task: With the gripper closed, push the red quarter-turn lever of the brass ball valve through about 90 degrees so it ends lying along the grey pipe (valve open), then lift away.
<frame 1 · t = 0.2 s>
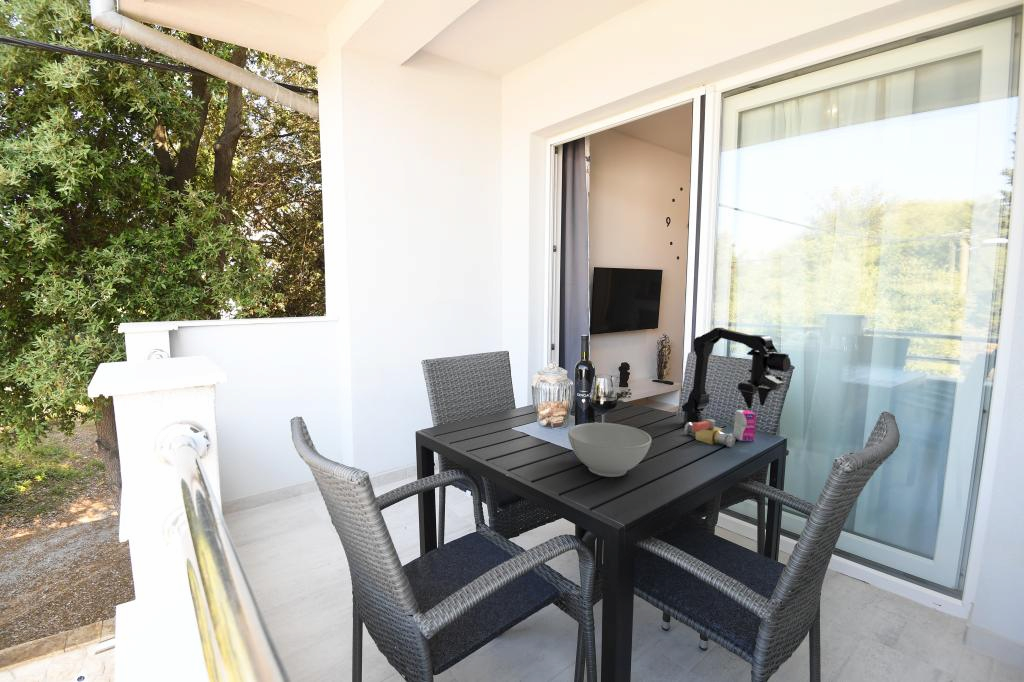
hand: (755, 406, 192), 14 cm above the table, fingers open, 9 cm apart
lever: (703, 425, 191), point 7 cm above the table, hinge at 0.0°
supplement box: (743, 439, 197), on the table
decorative bowl: (607, 470, 161), on the table
valve body: (708, 440, 194), on the table
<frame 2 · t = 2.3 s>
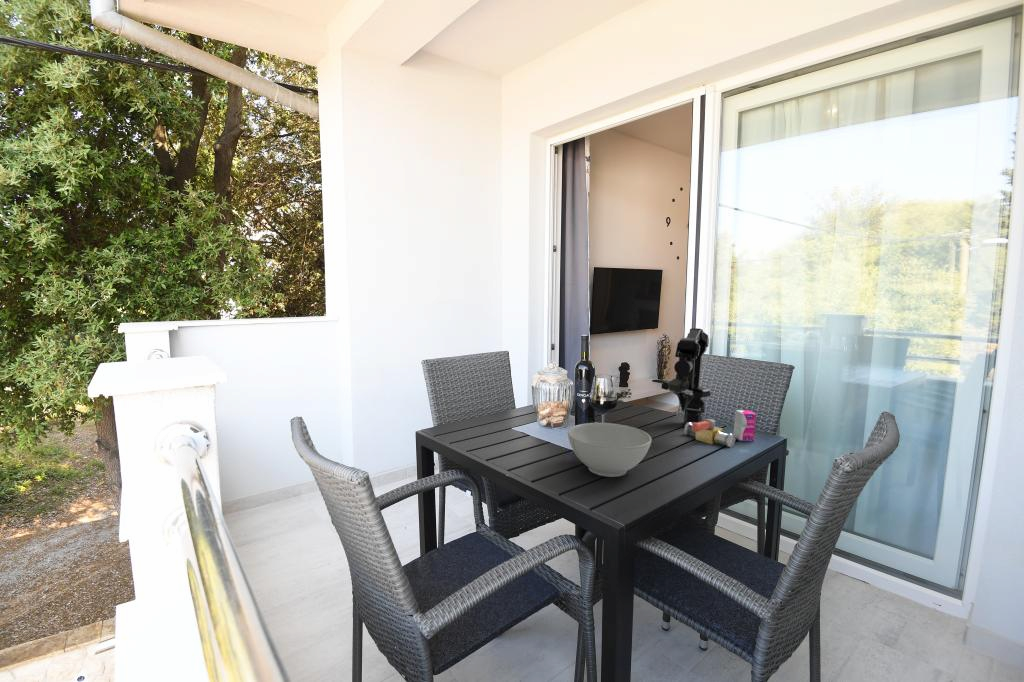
hand: (683, 410, 193), 12 cm above the table, fingers closed
nothing on the table moved.
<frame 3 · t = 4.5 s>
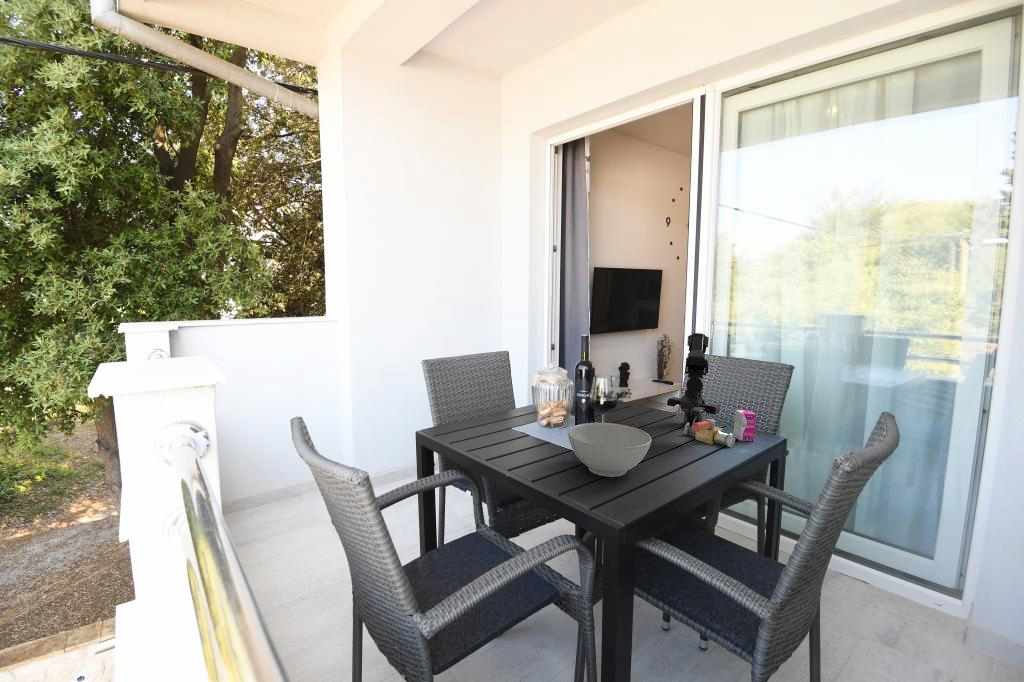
hand: (691, 426, 191), 6 cm above the table, fingers closed
lever: (703, 425, 191), point 7 cm above the table, hinge at 1.8°, touching gripper
everything else where it was.
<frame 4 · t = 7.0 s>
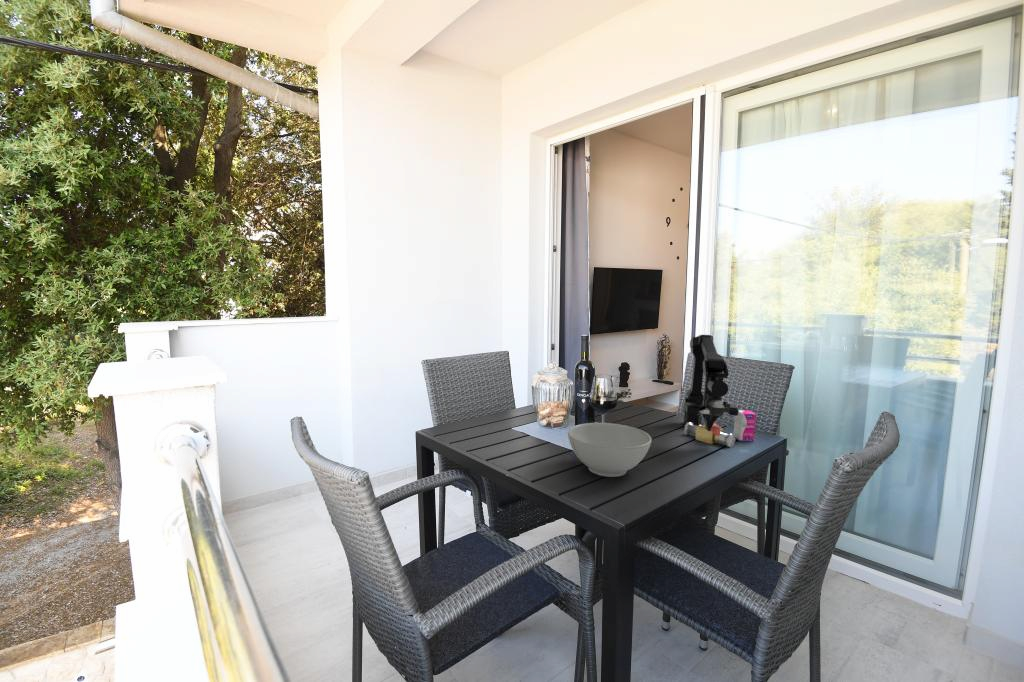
hand: (708, 430, 186), 6 cm above the table, fingers closed
lever: (713, 426, 189), point 7 cm above the table, hinge at 47.1°, touching gripper
everything else where it was.
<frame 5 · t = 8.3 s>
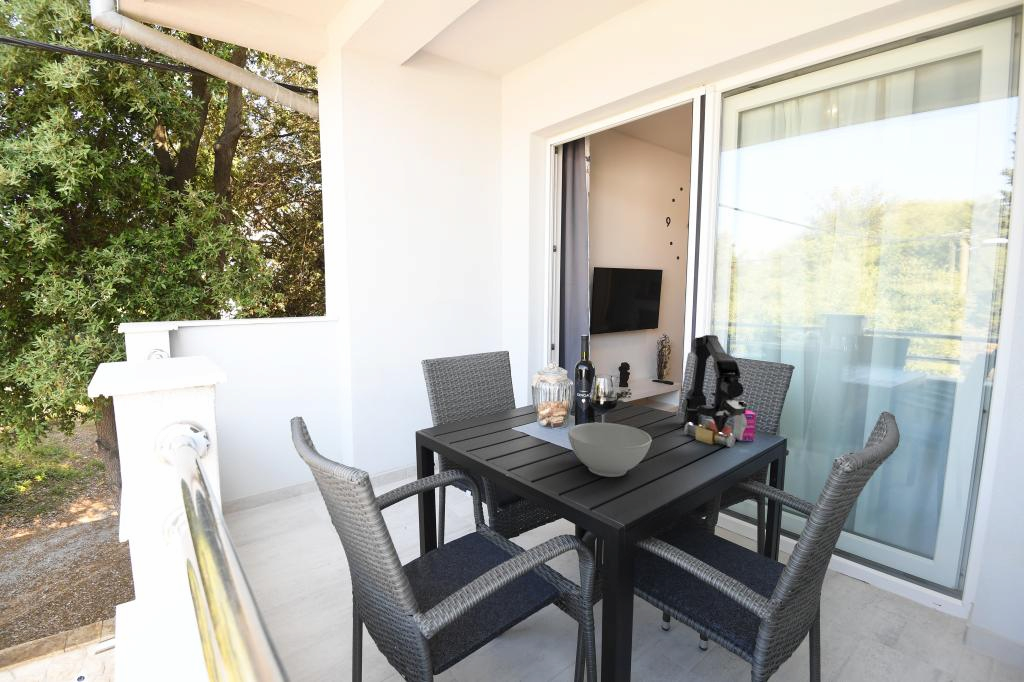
hand: (719, 431, 185), 6 cm above the table, fingers closed
lever: (717, 426, 189), point 7 cm above the table, hinge at 72.1°, touching gripper
everything else where it was.
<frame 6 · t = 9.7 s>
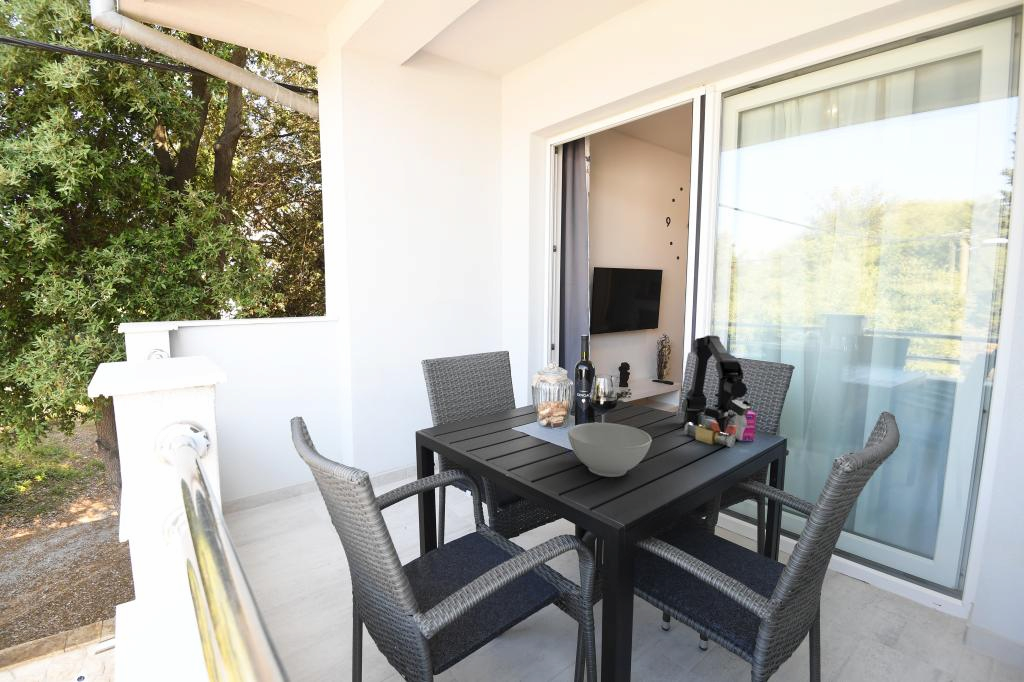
hand: (723, 432, 184), 6 cm above the table, fingers closed
lever: (720, 426, 190), point 7 cm above the table, hinge at 88.7°
everything else where it was.
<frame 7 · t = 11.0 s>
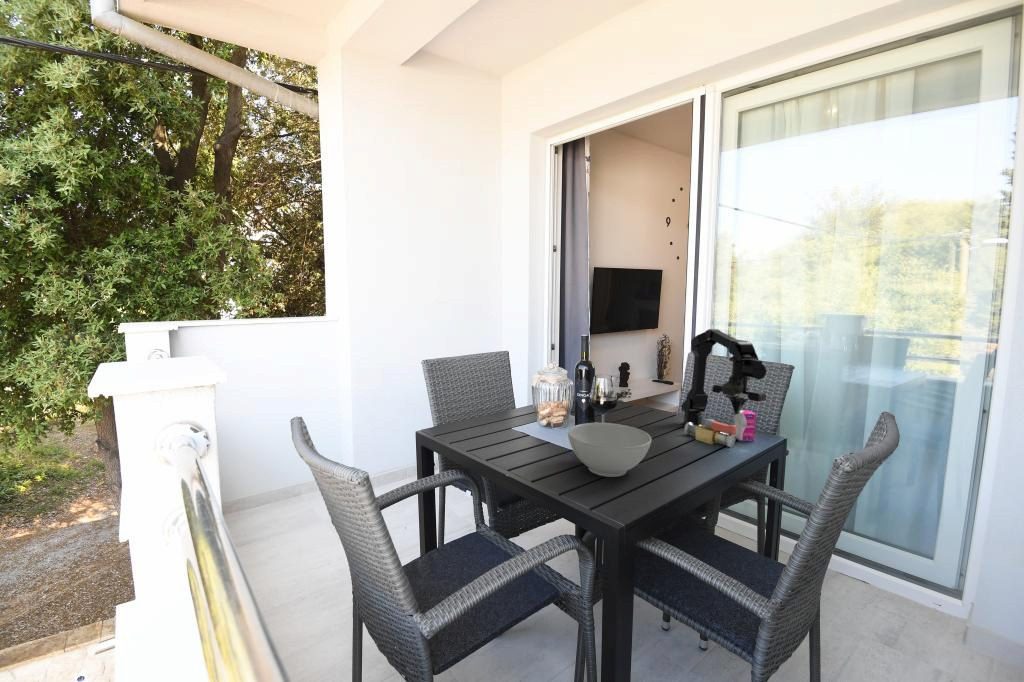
hand: (736, 414, 188), 12 cm above the table, fingers closed
nothing on the table moved.
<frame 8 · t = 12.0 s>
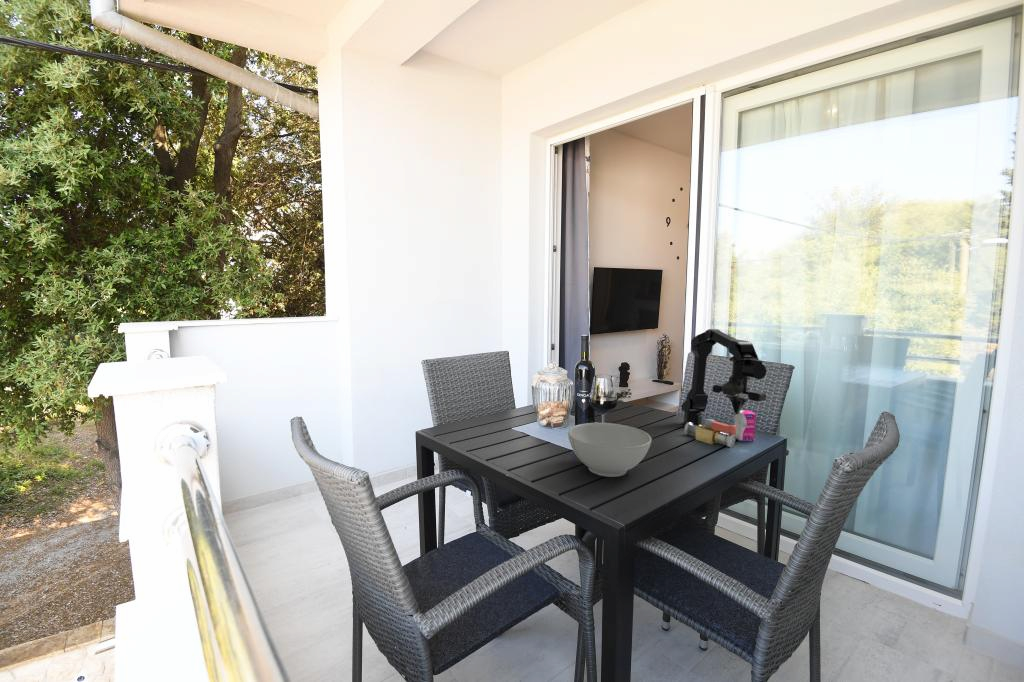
hand: (736, 414, 188), 12 cm above the table, fingers closed
nothing on the table moved.
at the end: lever at +89° (first picture: +0°) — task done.
